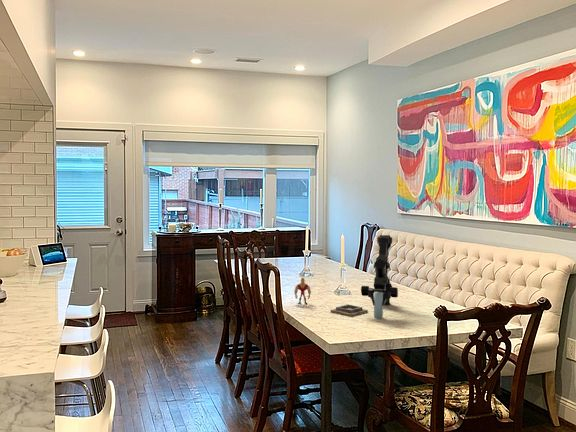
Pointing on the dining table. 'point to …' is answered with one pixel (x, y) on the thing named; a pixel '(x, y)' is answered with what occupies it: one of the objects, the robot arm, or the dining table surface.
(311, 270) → the dining table surface
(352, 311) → the cradle board
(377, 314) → the pale blue cylinder
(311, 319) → the dining table surface
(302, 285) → the action figure
